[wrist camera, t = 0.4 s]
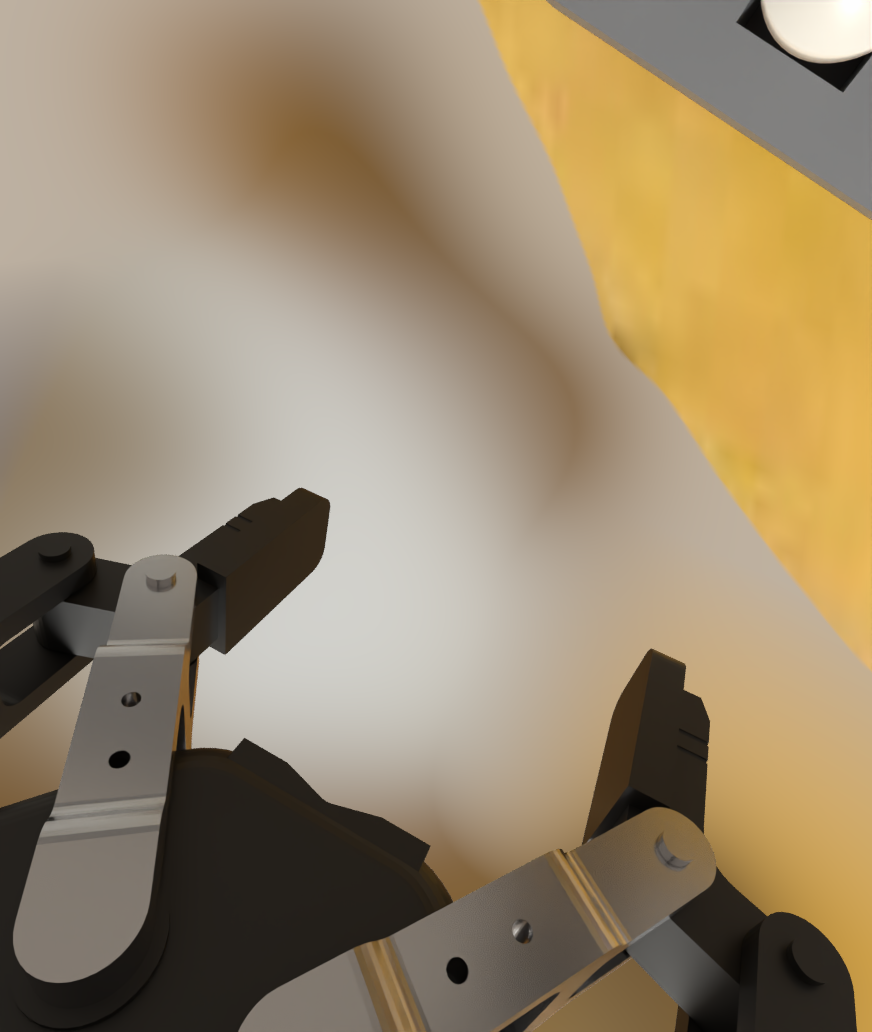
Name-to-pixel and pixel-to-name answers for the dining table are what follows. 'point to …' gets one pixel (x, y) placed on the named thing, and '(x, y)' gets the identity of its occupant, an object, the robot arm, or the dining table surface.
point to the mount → (750, 82)
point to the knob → (821, 28)
